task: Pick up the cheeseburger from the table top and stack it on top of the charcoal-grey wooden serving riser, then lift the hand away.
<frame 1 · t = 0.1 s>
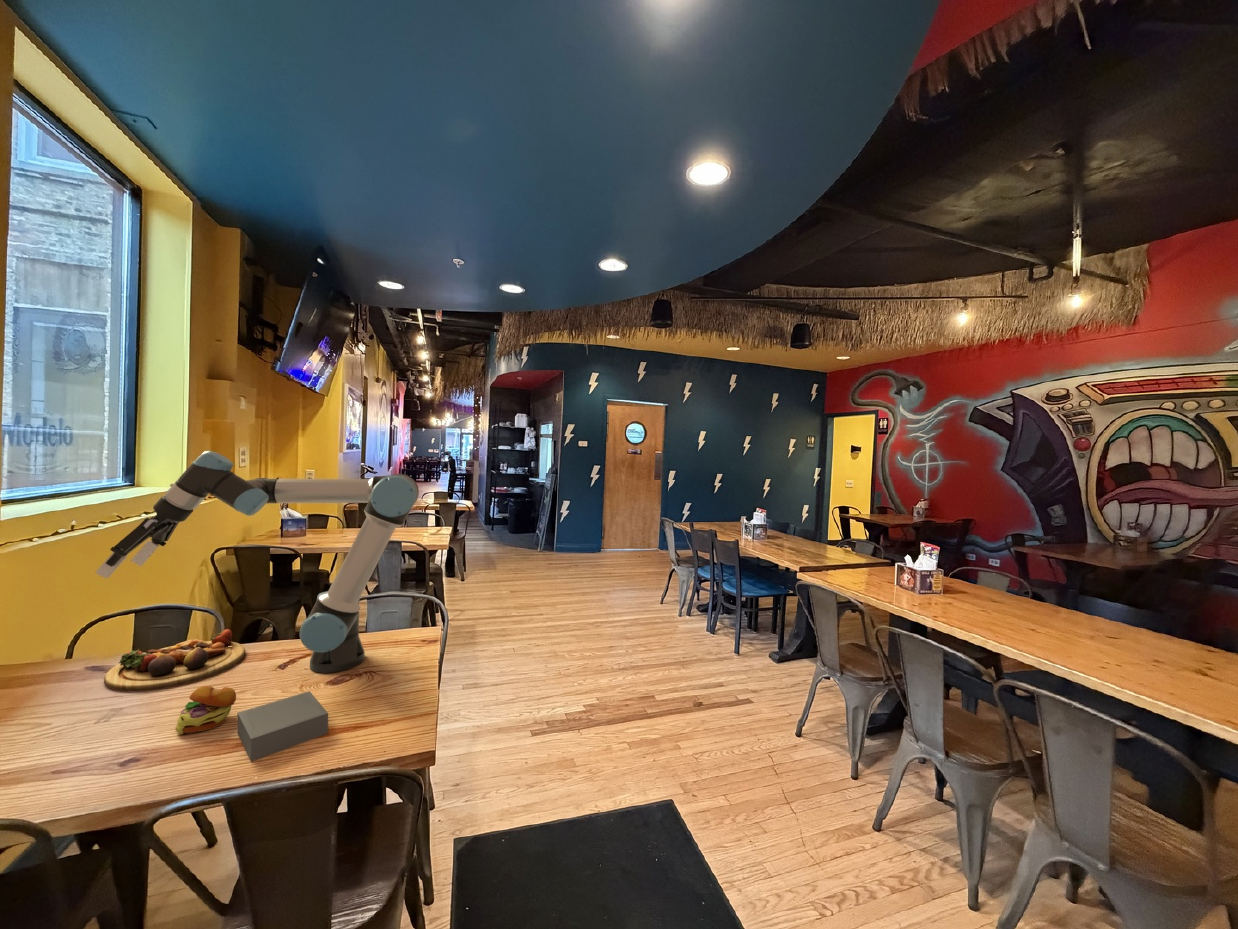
hand: (119, 569, 126), 36 cm above the table, fingers open, 13 cm apart
serving riser: (282, 733, 116), on the table
wooden plate with food: (179, 668, 149), on the table
cheeseburger: (205, 724, 119), on the table
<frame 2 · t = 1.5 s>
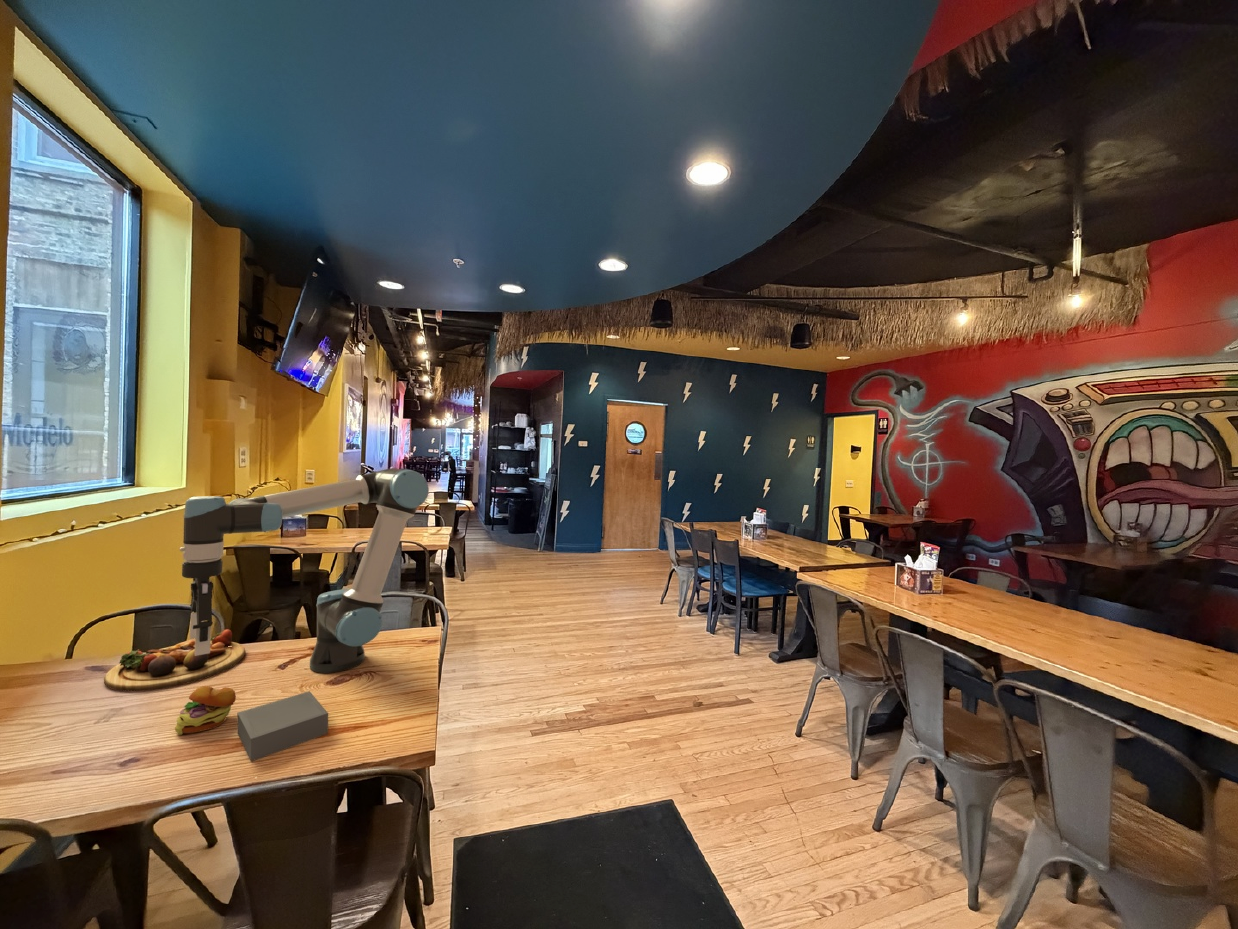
hand: (199, 645, 119), 19 cm above the table, fingers open, 13 cm apart
nothing on the table moved.
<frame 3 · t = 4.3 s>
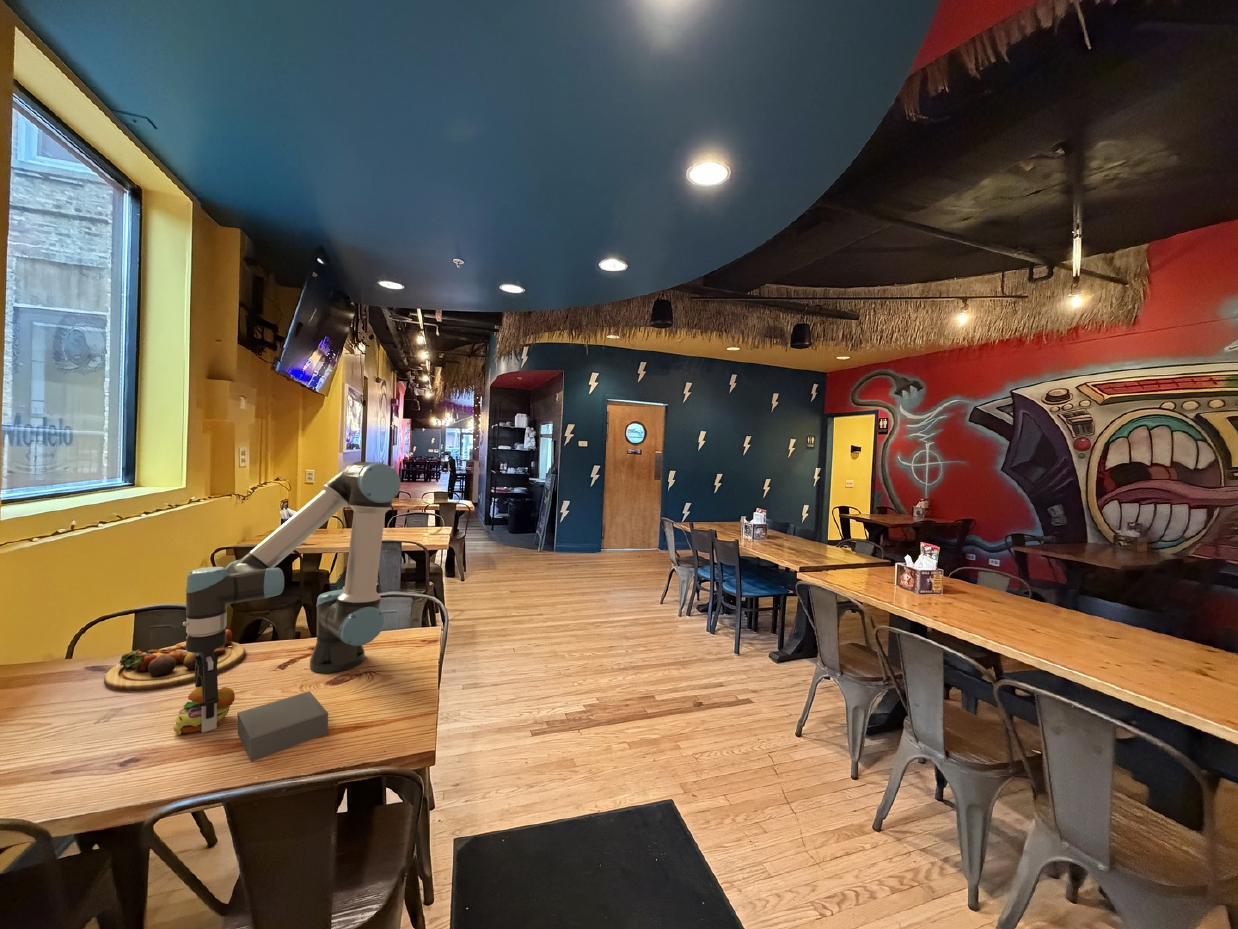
hand: (205, 721, 119), 1 cm above the table, fingers closed on cheeseburger, 10 cm apart
cheeseburger: (204, 724, 119), on the table, touching gripper
everything else where it was.
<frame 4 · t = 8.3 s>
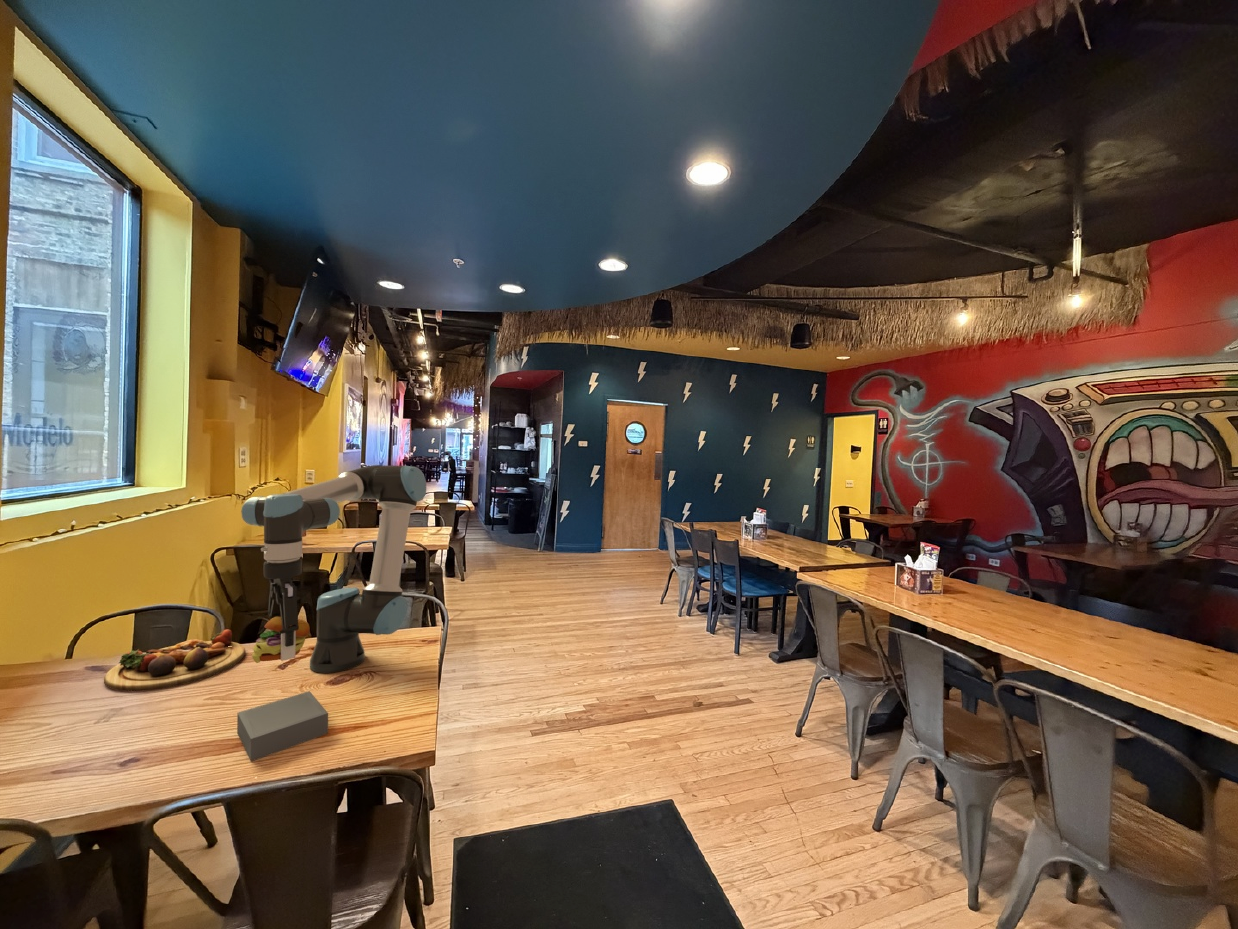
hand: (282, 652, 116), 20 cm above the table, fingers closed on cheeseburger, 10 cm apart
cheeseburger: (280, 655, 115), point 19 cm above the table, touching gripper
everything else where it was.
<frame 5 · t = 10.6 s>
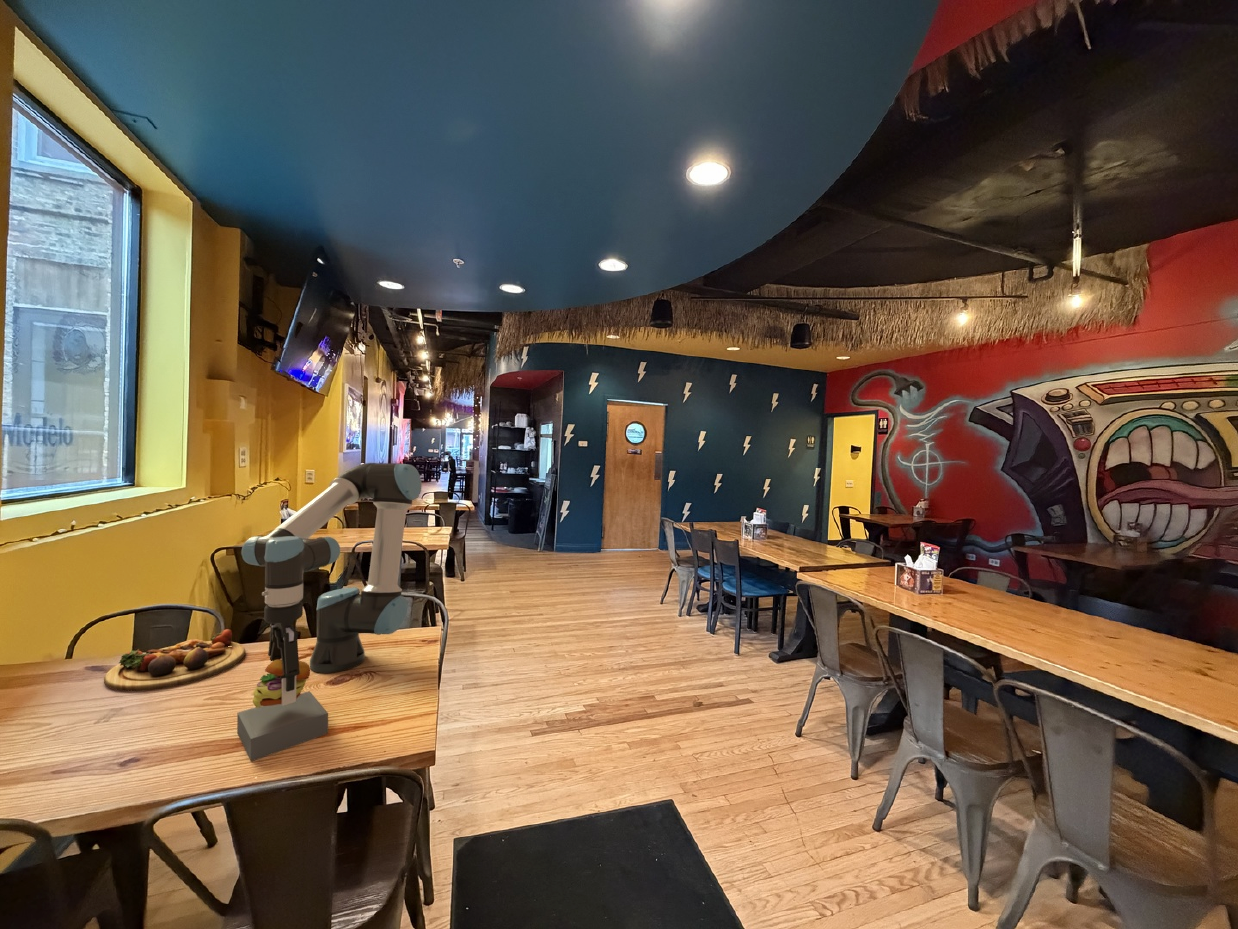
hand: (282, 695, 116), 9 cm above the table, fingers closed on cheeseburger, 10 cm apart
cheeseburger: (281, 698, 116), point 9 cm above the table, touching gripper
everything else where it was.
when the fingers open (7 cm above the table, at t = 12.6 s): cheeseburger drops 1 cm, resting on serving riser.
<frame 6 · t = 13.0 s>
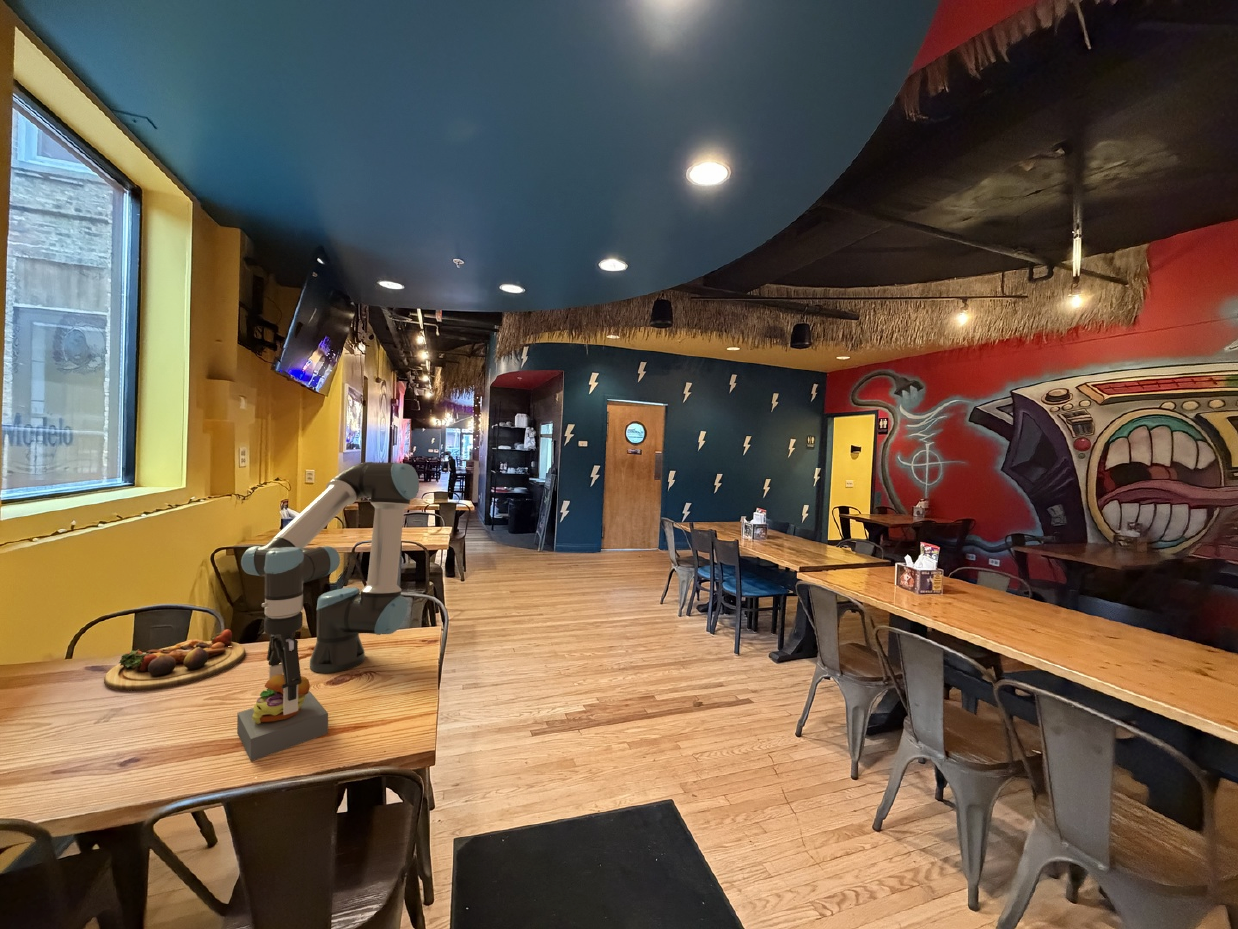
hand: (283, 701, 116), 8 cm above the table, fingers open, 13 cm apart
cheeseburger: (280, 714, 116), point 5 cm above the table, touching serving riser
everything else where it was.
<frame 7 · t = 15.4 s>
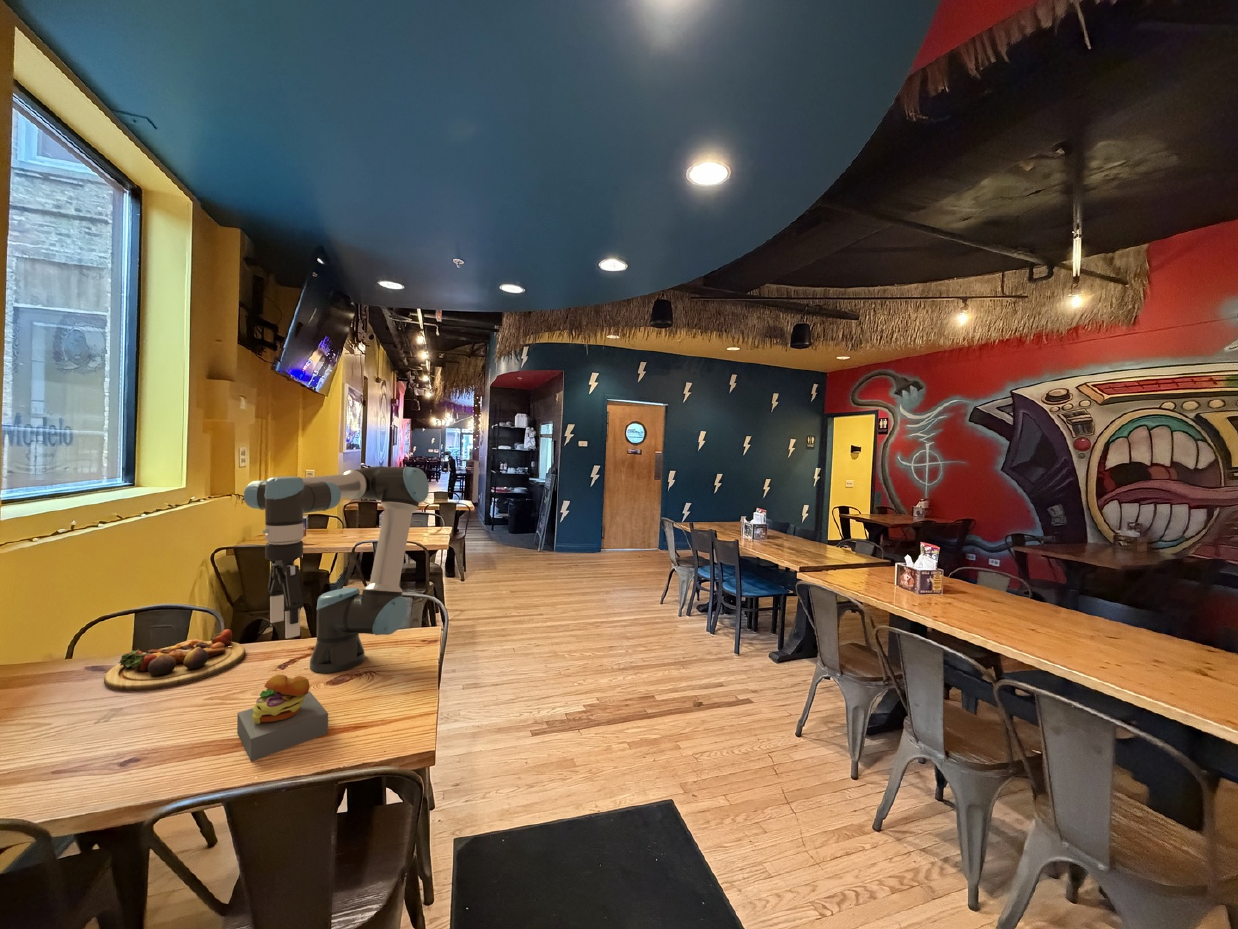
hand: (284, 628, 117), 25 cm above the table, fingers open, 13 cm apart
nothing on the table moved.
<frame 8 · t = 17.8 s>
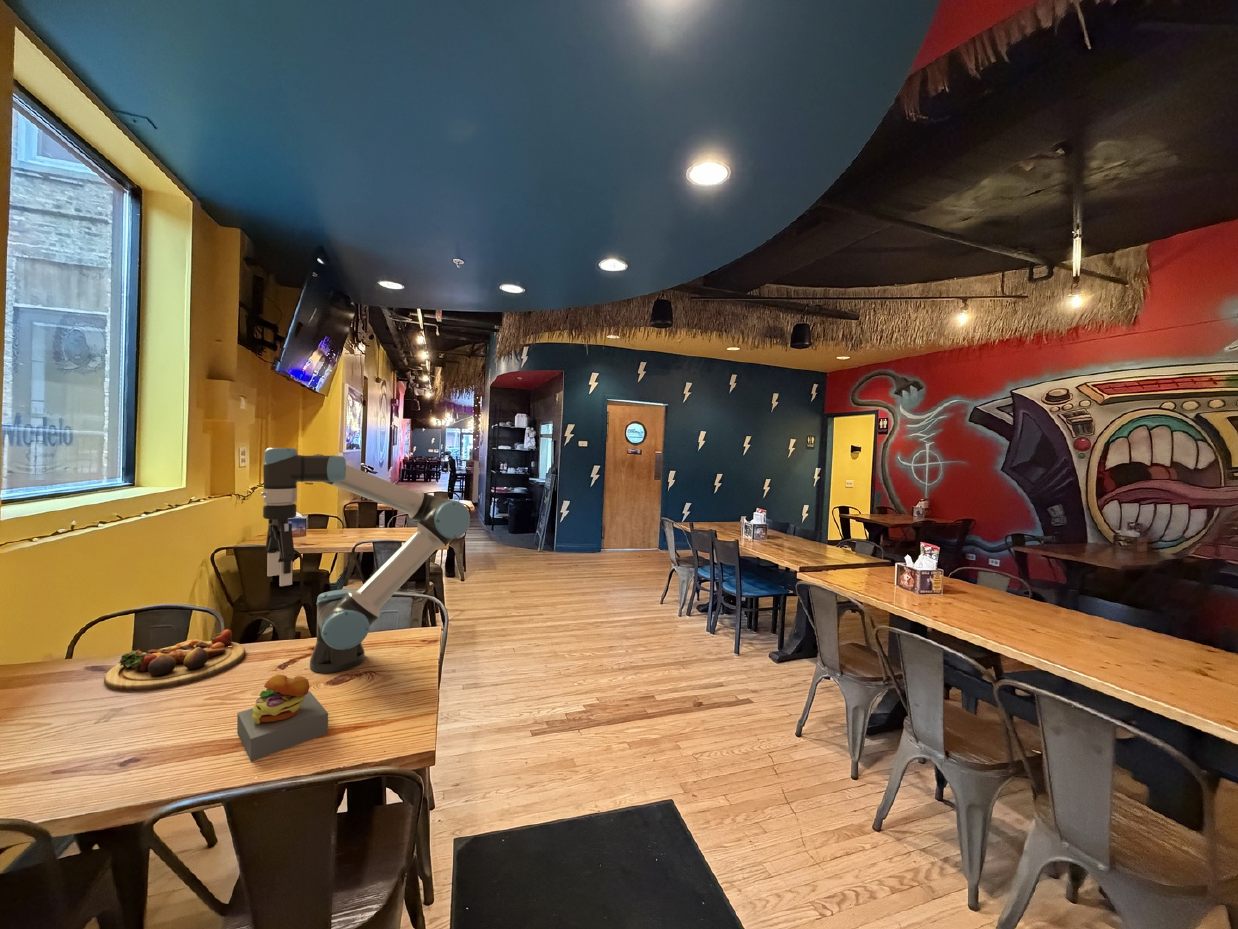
hand: (279, 580, 134), 32 cm above the table, fingers open, 13 cm apart
nothing on the table moved.
at the end: cheeseburger inside the target area on the serving riser (0.5 cm from its centre), point 4.8 cm above the serving riser's base; cheeseburger tilted 0°; the gripper is holding nothing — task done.
